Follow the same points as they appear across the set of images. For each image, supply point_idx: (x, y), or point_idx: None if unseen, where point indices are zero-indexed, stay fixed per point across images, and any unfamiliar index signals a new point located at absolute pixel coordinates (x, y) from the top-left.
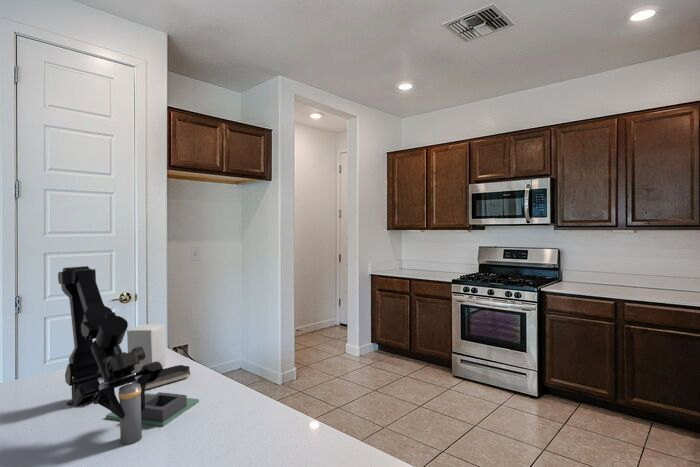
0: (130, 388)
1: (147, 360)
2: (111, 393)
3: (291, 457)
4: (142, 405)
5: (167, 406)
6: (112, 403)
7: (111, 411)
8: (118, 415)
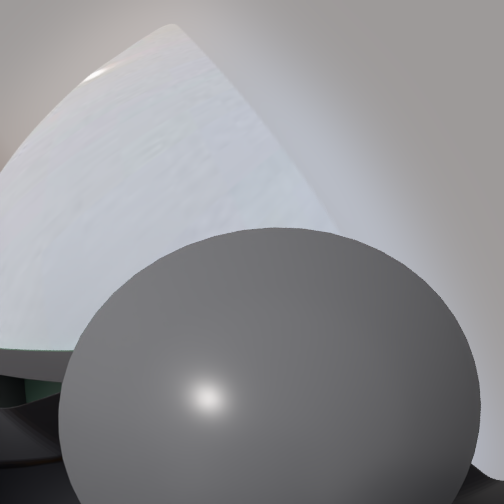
0: (340, 363)
1: None
2: (484, 496)
3: (188, 49)
4: None
5: (52, 357)
6: None
7: None
8: None
